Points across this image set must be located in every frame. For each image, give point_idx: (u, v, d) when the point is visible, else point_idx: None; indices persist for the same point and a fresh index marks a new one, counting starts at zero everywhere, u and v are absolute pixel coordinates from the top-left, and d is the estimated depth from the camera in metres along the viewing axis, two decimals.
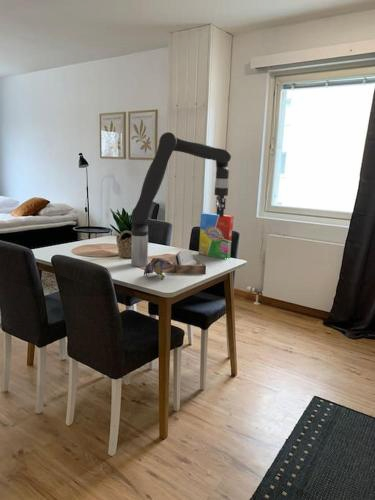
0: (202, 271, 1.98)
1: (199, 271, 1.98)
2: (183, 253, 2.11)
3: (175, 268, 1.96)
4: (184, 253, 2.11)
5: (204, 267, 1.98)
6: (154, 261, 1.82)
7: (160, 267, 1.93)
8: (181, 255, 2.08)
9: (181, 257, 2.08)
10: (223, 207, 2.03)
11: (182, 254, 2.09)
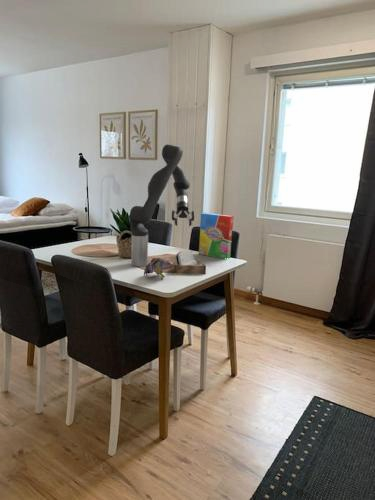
0: (202, 271, 1.98)
1: (199, 271, 1.98)
2: (183, 253, 2.11)
3: (175, 268, 1.96)
4: (184, 252, 2.11)
5: (204, 267, 1.98)
6: (154, 261, 1.82)
7: (160, 267, 1.93)
8: (181, 255, 2.08)
9: (181, 257, 2.08)
10: (193, 218, 2.31)
11: (182, 254, 2.10)
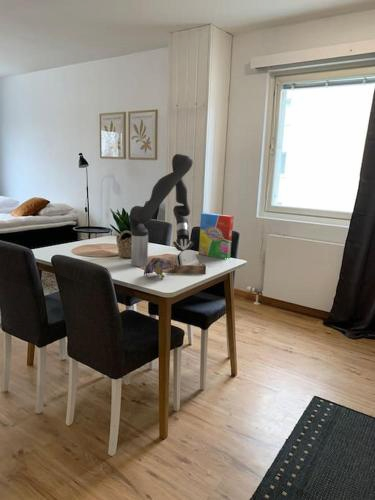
0: (202, 271, 1.98)
1: (199, 271, 1.98)
2: (185, 253, 2.11)
3: (175, 268, 1.96)
4: (186, 253, 2.12)
5: (204, 267, 1.98)
6: (154, 261, 1.82)
7: (160, 267, 1.93)
8: (183, 255, 2.09)
9: (183, 257, 2.08)
10: (188, 249, 2.21)
11: (184, 254, 2.10)
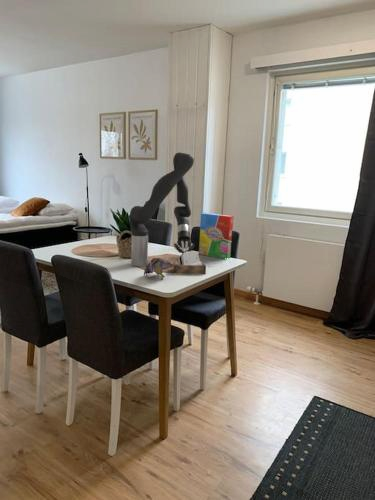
0: (202, 271, 1.98)
1: (199, 271, 1.98)
2: (187, 254, 2.07)
3: (175, 268, 1.96)
4: (188, 254, 2.08)
5: (204, 267, 1.98)
6: (154, 261, 1.82)
7: (160, 267, 1.93)
8: (185, 256, 2.05)
9: (185, 258, 2.05)
10: None
11: (186, 255, 2.06)
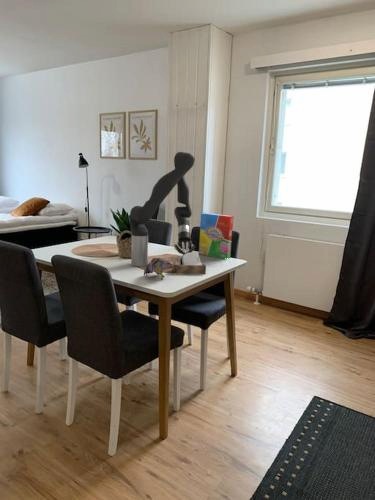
0: (202, 271, 1.98)
1: (199, 271, 1.98)
2: (188, 256, 2.05)
3: (175, 268, 1.96)
4: (189, 255, 2.05)
5: (204, 267, 1.98)
6: (154, 261, 1.82)
7: (160, 267, 1.93)
8: (185, 258, 2.02)
9: (185, 260, 2.02)
10: (190, 252, 2.14)
11: (187, 257, 2.03)
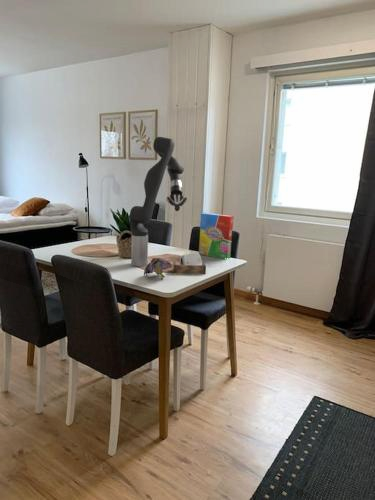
0: (202, 271, 1.98)
1: (199, 271, 1.98)
2: (189, 256, 2.05)
3: (175, 268, 1.96)
4: (190, 255, 2.05)
5: (204, 267, 1.98)
6: (154, 261, 1.82)
7: (160, 267, 1.93)
8: (186, 258, 2.03)
9: (186, 260, 2.02)
10: (182, 204, 2.26)
11: (188, 257, 2.04)
